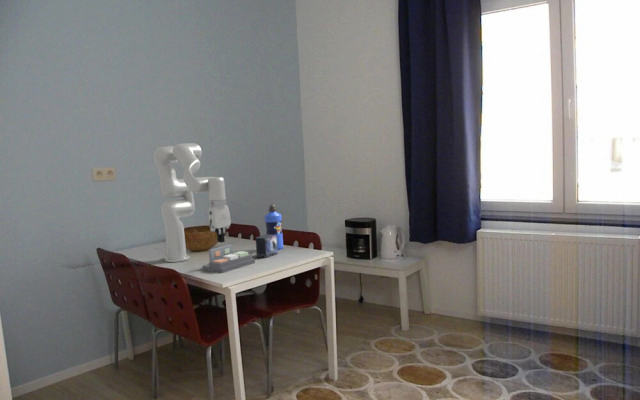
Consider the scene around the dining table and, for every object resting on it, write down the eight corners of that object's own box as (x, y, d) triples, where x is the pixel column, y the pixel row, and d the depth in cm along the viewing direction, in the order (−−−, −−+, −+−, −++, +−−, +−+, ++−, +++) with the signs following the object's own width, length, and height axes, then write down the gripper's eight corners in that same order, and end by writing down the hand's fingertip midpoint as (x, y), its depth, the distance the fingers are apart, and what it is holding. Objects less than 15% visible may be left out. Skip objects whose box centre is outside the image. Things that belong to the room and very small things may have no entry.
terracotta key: (212, 265, 237) (212, 261, 237) (221, 262, 241) (220, 258, 241) (220, 266, 234) (220, 262, 234) (228, 263, 238) (228, 259, 238)
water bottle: (287, 247, 281) (283, 203, 279) (276, 251, 273) (273, 205, 271) (273, 246, 286) (270, 203, 284) (263, 250, 278) (260, 205, 276)
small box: (266, 258, 257) (264, 238, 256) (256, 257, 260) (254, 237, 259) (278, 254, 266) (277, 234, 265) (268, 253, 269) (267, 234, 268)
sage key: (233, 257, 247) (232, 253, 247) (240, 255, 251) (240, 251, 251) (240, 258, 244) (240, 254, 244) (248, 255, 248) (247, 251, 248)
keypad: (202, 269, 240) (201, 251, 239) (235, 260, 256) (233, 243, 256) (222, 272, 231) (221, 253, 231) (254, 262, 248) (253, 244, 247)
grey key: (223, 260, 242) (222, 256, 242) (231, 257, 246) (230, 253, 246) (230, 261, 239) (230, 256, 239) (238, 258, 243) (238, 254, 243)
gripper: (210, 205, 228) (214, 245, 230) (235, 201, 239) (238, 239, 241) (200, 205, 232) (203, 244, 234) (224, 201, 244) (227, 238, 246)
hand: (221, 241), depth 238 cm, fingers closed
